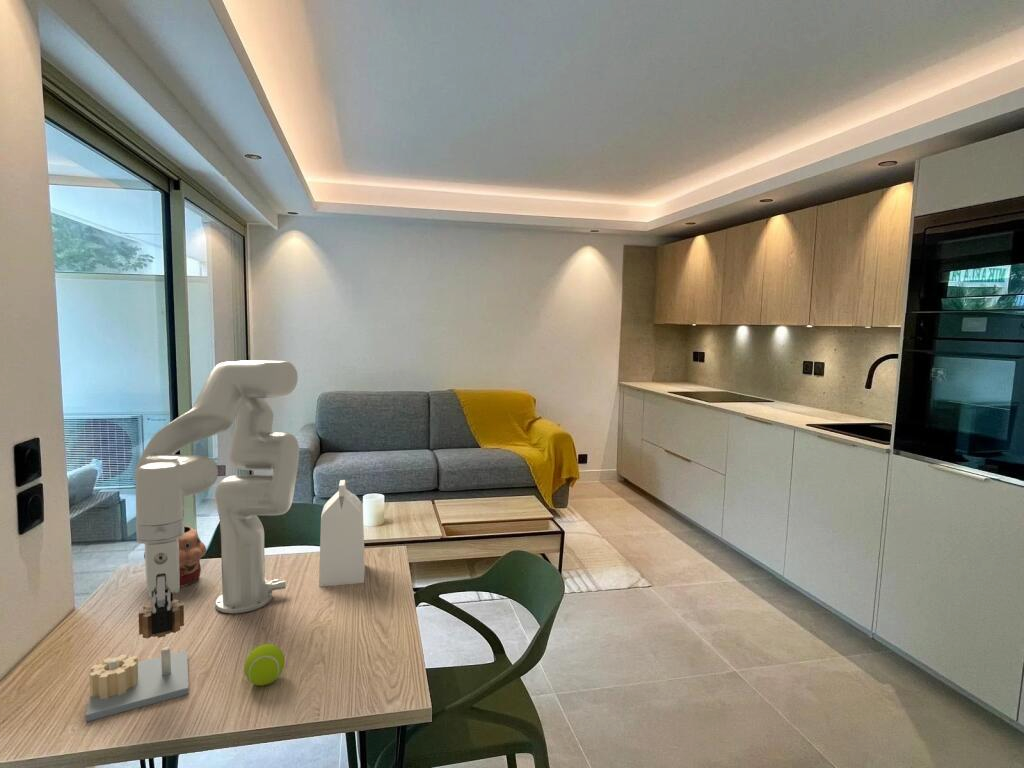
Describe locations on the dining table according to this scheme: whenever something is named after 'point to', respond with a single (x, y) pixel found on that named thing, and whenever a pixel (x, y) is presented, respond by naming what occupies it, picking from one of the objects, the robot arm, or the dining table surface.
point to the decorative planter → (190, 556)
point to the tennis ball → (264, 664)
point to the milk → (342, 540)
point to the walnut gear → (146, 624)
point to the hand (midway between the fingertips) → (162, 622)
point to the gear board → (136, 682)
